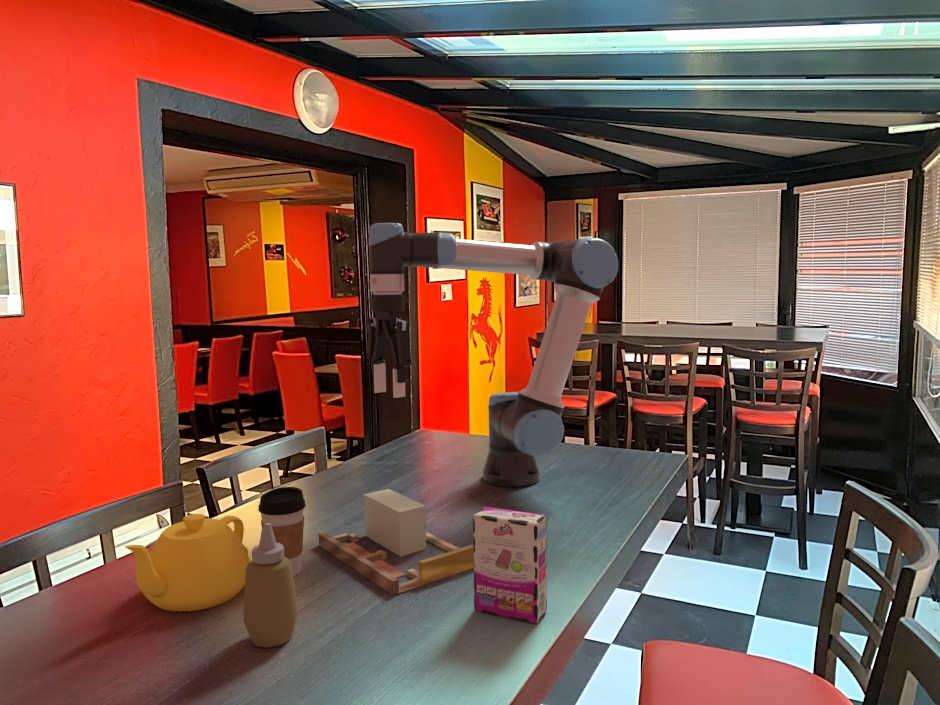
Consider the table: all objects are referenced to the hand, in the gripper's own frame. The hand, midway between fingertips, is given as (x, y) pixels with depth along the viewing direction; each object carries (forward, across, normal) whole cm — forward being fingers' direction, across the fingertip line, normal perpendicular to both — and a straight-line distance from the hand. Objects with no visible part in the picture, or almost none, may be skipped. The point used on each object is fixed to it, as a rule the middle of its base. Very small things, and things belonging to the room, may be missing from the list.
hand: (389, 394), depth 161 cm
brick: (+27, +17, -10) cm, 33 cm away
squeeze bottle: (+27, +37, -44) cm, 64 cm away
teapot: (+28, +14, -49) cm, 58 cm away
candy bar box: (+27, +54, -11) cm, 61 cm away
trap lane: (+27, +23, -13) cm, 38 cm away
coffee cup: (+27, +16, -33) cm, 46 cm away
